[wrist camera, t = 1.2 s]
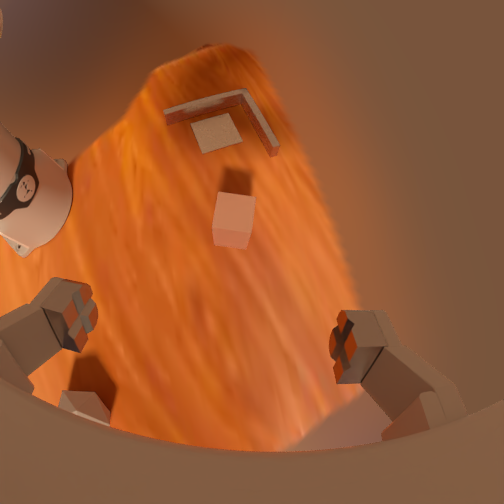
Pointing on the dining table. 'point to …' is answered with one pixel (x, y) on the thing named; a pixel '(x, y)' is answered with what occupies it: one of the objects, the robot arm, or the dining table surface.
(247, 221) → the block
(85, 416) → the grey faceted polyhedron
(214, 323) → the dining table surface
